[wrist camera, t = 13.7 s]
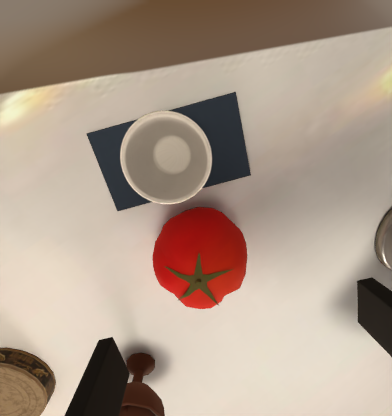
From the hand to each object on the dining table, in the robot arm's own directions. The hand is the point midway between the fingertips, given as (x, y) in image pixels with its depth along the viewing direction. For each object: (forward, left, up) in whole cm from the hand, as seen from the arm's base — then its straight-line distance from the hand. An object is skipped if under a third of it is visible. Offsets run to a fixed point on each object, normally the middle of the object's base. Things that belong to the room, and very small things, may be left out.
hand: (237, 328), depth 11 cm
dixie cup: (+2, -9, -21) cm, 23 cm away
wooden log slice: (+43, +23, -21) cm, 53 cm away
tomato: (+2, +5, -21) cm, 22 cm away
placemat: (+2, -9, -21) cm, 23 cm away
